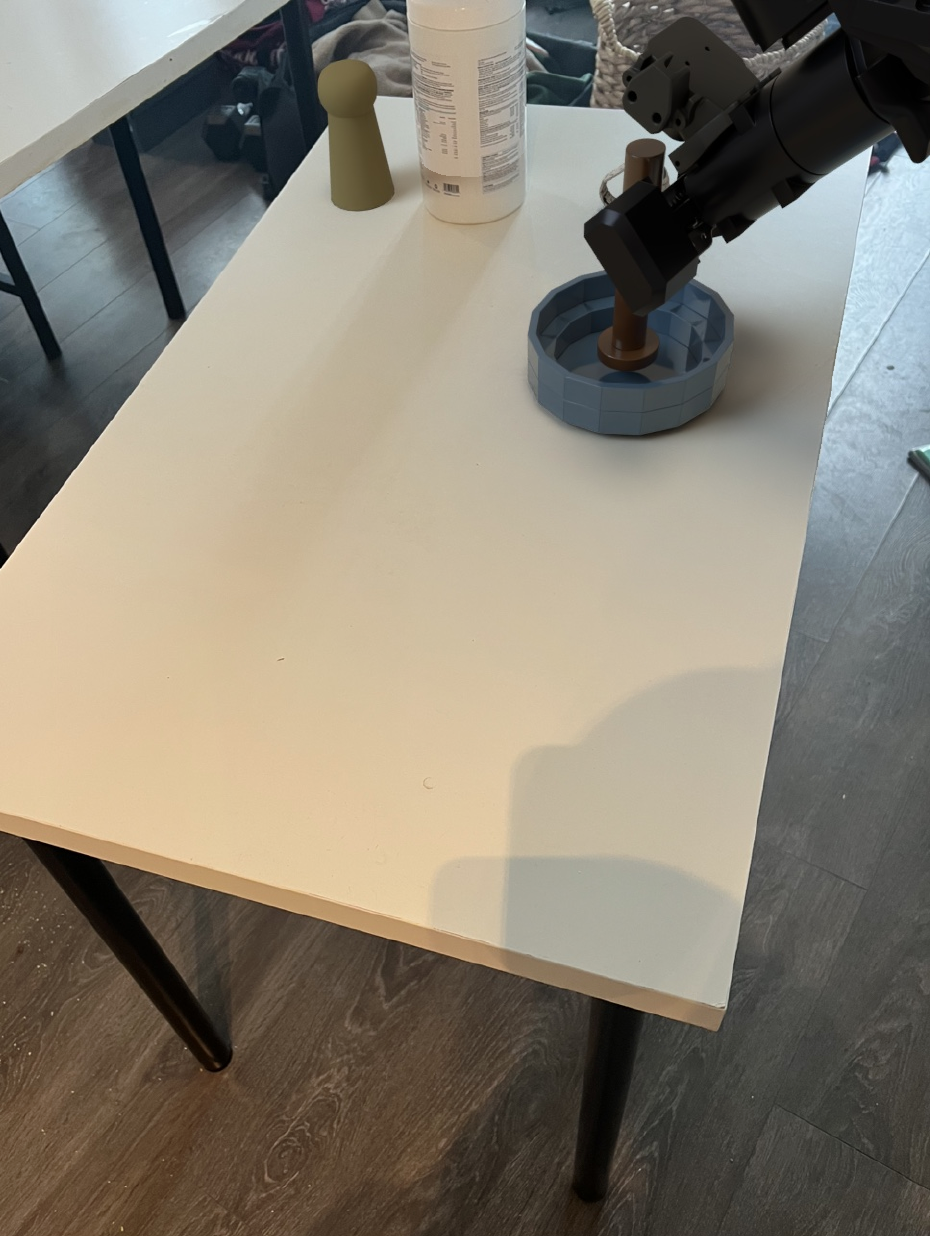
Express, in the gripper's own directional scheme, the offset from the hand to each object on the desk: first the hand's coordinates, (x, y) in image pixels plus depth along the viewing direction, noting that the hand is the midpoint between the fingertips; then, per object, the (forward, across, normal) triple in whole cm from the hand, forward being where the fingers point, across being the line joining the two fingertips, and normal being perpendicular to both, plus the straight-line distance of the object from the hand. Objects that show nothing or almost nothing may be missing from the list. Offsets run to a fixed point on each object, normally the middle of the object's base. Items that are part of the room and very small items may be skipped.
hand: (619, 256), depth 66 cm
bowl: (+6, 0, +7) cm, 9 cm away
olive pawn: (+31, -9, -18) cm, 37 cm away
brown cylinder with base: (+4, 0, +6) cm, 7 cm away
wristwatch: (+14, -19, -1) cm, 24 cm away
